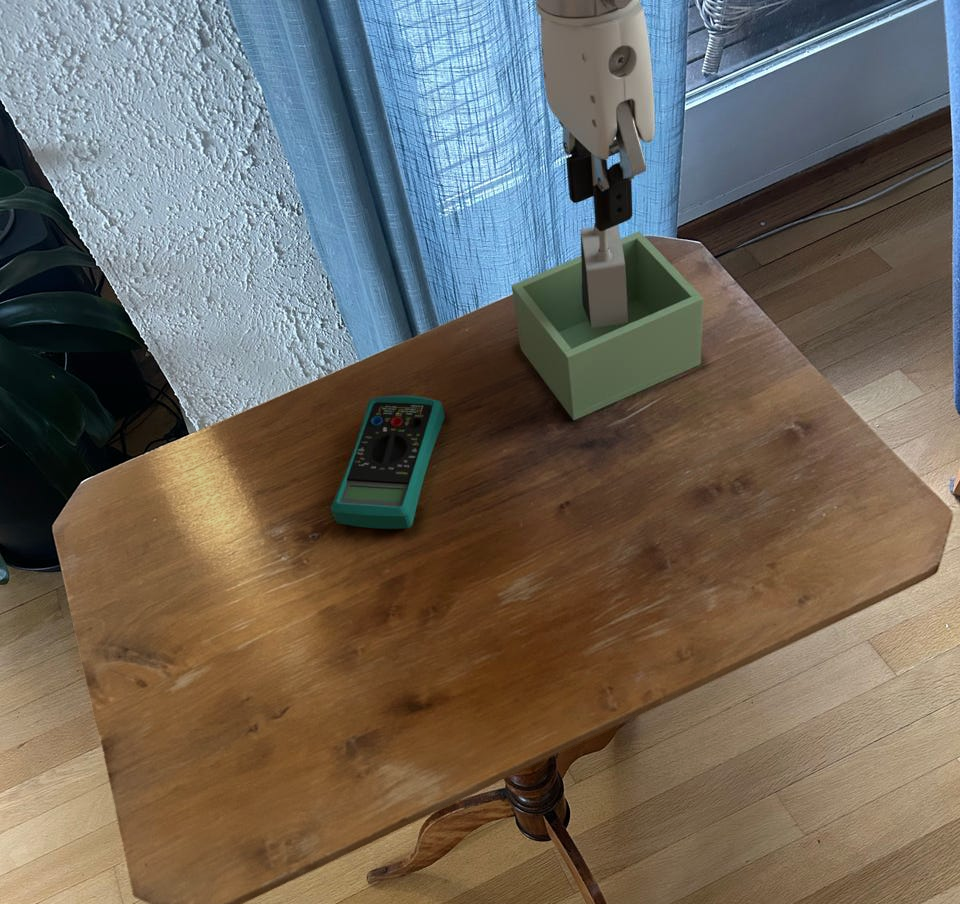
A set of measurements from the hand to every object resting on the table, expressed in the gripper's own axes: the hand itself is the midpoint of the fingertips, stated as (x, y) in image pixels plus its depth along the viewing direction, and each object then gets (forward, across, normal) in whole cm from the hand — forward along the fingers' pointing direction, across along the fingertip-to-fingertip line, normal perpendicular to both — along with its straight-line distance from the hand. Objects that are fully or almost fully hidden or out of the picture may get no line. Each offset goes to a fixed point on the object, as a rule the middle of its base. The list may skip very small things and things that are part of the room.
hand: (600, 207), depth 86 cm
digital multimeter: (+17, -2, +24) cm, 29 cm away
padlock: (+10, 0, 0) cm, 10 cm away
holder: (+16, 0, 0) cm, 16 cm away
